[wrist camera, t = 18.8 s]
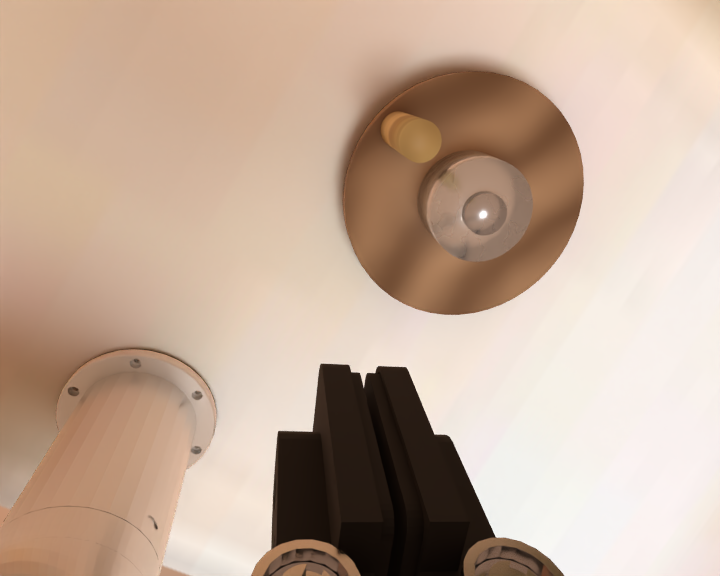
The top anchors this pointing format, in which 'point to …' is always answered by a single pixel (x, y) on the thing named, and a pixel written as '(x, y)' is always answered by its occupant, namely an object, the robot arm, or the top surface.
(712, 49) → the top surface
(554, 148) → the turntable
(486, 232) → the cover
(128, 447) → the robot arm
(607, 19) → the top surface
